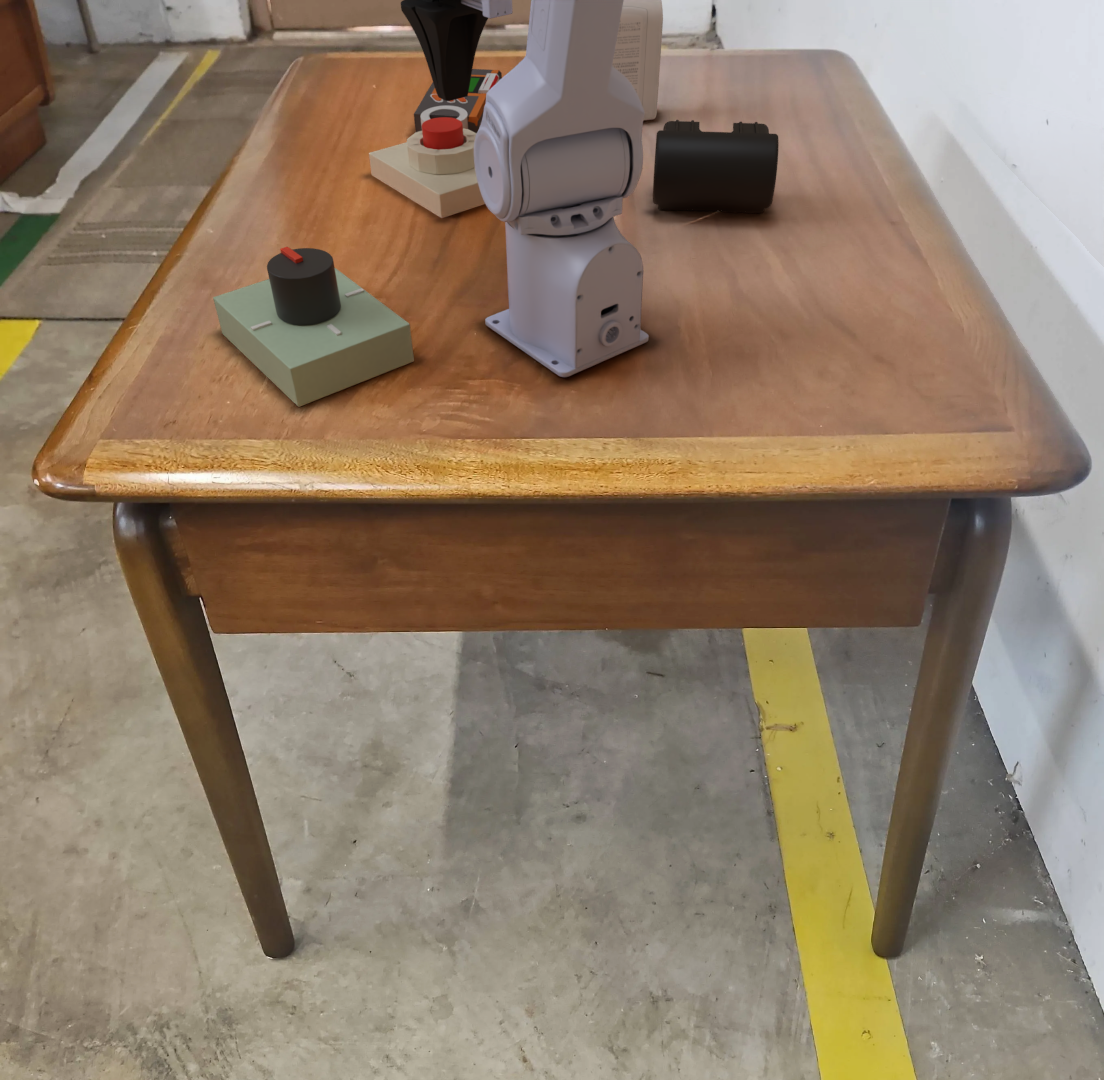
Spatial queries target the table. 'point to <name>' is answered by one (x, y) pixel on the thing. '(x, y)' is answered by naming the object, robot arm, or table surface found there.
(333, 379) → the dial panel
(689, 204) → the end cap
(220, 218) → the table surface
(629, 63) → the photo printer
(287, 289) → the dial
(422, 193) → the button box
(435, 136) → the power button
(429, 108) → the electronic device
